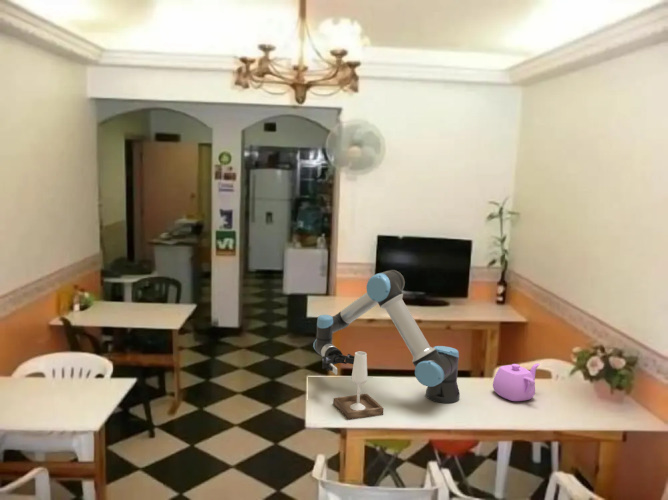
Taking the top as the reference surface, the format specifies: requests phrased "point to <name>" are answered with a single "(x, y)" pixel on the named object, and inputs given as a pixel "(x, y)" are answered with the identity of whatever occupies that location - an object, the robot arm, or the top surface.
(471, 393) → the top surface
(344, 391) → the top surface
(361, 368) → the champagne flute
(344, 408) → the walnut tray
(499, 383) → the teapot
